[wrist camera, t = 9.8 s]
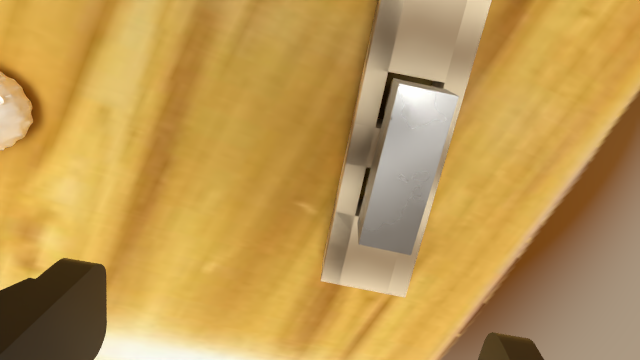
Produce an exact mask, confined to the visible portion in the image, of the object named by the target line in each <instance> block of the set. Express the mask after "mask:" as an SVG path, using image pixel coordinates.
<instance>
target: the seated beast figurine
mask: <svg viewBox="0 0 640 360" xmlns="http://www.w3.org/2000/svg"><path fill="white" fill-rule="evenodd" d="M31 111H32V104H31V101H30V100H29V99H28V98H27V97H26V95H25V93H24V91H23V88H22V87H21V86H20V85H19V84H18V83H17V82H16V81H15V80H14V79H12V78H9V77H7V76H5V75H4V74H3V73H2V72H0V150H4V149H5V148H7V147H12V146H13V145H14V144H15V143H16V141H17V140H20V139H22V138H23V137H25V135H26V133H27V131H28V128H29V127H30V125H31V124H32V123H33V118H32V115H31Z"/></svg>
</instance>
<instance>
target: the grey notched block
mask: <svg viewBox="0 0 640 360" xmlns="http://www.w3.org/2000/svg"><path fill="white" fill-rule="evenodd" d="M458 98H459V96H457V95H456V94H454V93H452V92H450V91H448V90H447V89H443V88H438V87H433V86H429V85H424V84H419V83H414V82H410V81H405V80H400V79H395V78H393V80H391V84H390V88H389V92H388V96H387V100H386V104H385V108H384V110H385V114H384V118H383V122H382V126H381V130H380V134H379V138H378V142H377V146H376V150H375V154H374V158H373V162H372V166H371V168H370V169H369V173H368V177H367V181H366V185H365V189H364V192H365V194H364V198H363V202H362V206H361V210H360V214H359V218H358V222H357V224H358V244H359V245H364V246H369V247H373V248H378V249H383V250H388V251H393V252H397V253H402V254H407V255H411V254H412V250H413V247H414V244H415V240H416V237H417V234H418V230H419V227H420V224H421V220H422V217H423V214H424V210H425V207H426V204H427V201H428V197H429V194H430V191H431V187H432V184H433V181H434V177H435V174H436V171H437V167H438V164H439V161H440V157H441V154H442V151H443V147H444V144H445V141H446V137H447V134H448V131H449V128H450V124H451V121H452V118H453V114H454V111H455V108H456V104H457V101H458Z"/></svg>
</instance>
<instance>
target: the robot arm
mask: <svg viewBox="0 0 640 360" xmlns="http://www.w3.org/2000/svg"><path fill="white" fill-rule="evenodd" d="M106 325H107V318H106V270H105V267H104V266H103V265H102V264H97V263H91V262H85V261H79V260H73V259H68V258H63V259H60V260H59V261H57V262H56V263H55V264H54V265H52V266H51V267H50V268H49V269H47V270H46V271H45V272H44V273H42V274H41V275H40V276H39V277H38V278H36V279H33V278H28V279H26V280H23V281H21V282H19V283H16V284H14V285H12V286H10V287H7V288H5V289H3V290H0V360H94V359H95V357H96V356H97V354H98V352H99V350H100V348H101V346H102V343H103V341H104V337H105V333H106ZM478 360H544V359H543V357H542V356H541V354H540V352H539V351H538V349H537V347H536V346H535V344H534V343H533V341H532V340H530V339H528V338H522V337H516V336H510V335H504V334H498V333H493V332H492V333H490V334H488V336H487V337H486V339H485V341H484V344H483V347H482V350H481V353H480V356H479V358H478Z"/></svg>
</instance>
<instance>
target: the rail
mask: <svg viewBox="0 0 640 360" xmlns="http://www.w3.org/2000/svg"><path fill="white" fill-rule="evenodd" d="M491 1H492V0H378V2H377V6H376V11H375V16H374V21H373V25H372V30H371V35H370V39H369V44H368V49H367V54H366V58H365V63H364V68H363V72H362V77H361V82H360V87H359V91H358V96H357V101H356V105H355V110H354V115H353V119H352V124H351V129H350V134H349V138H348V143H347V148H346V152H345V157H344V162H343V167H342V171H341V176H340V181H339V185H338V190H337V195H336V200H335V204H334V209H333V214H332V218H331V223H330V228H329V233H328V237H327V242H326V247H325V251H324V256H323V265H322V274H321V281H323V282H329V283H334V284H339V285H344V286H349V287H354V288H359V289H364V290H369V291H375V292H380V293H385V294H390V295H395V296H400V297H406V293H407V290H408V286H409V283H410V279H411V276H412V272H413V269H414V266H415V262H416V259H417V255H418V252H419V248H420V245H421V242H422V238H423V235H424V231H425V228H426V224H427V221H428V217H429V214H430V211H431V207H432V204H433V200H434V197H435V193H436V190H437V187H438V183H439V180H440V176H441V173H442V169H443V166H444V162H445V159H446V156H447V152H448V149H449V145H450V142H451V138H452V135H453V132H454V128H455V125H456V121H457V118H458V114H459V111H460V107H461V104H462V101H463V97H464V94H465V90H466V87H467V83H468V80H469V77H470V73H471V70H472V66H473V63H474V59H475V56H476V52H477V49H478V46H479V42H480V39H481V35H482V32H483V28H484V25H485V22H486V18H487V15H488V11H489V8H490V4H491ZM388 72H392V73H397V74H402V75H408V76H413V77H418V78H423V79H428V80H433V82H432V85H431V86H433V87H438V88H443V89H447V90H448V91H450V92H452V93H454V94H456V95H457V96H459V98H458V101H457V104H456V108H455V111H454V114H453V118H452V121H451V124H450V128H449V131H448V134H447V137H446V141H445V144H444V147H443V151H442V154H441V157H440V161H439V164H438V167H437V171H436V174H435V177H434V181H433V184H432V187H431V191H430V194H429V197H428V201H427V204H426V207H425V210H424V214H423V217H422V220H421V224H420V227H419V230H418V234H417V237H416V240H415V244H414V247H413V250H412V254H411V255H407V254H402V253H397V252H393V251H388V250H383V249H378V248H373V247H369V246H364V245H359V244H358V224H357V222H358V218H359V214H360V210H361V206H362V202H363V199H361V198H359V196H360V192H361V187H362V183H363V179H364V174H365V170H366V167H367V168H371V166H372V162H373V158H374V154H375V150H376V146H377V142H378V138H379V134H380V130H381V126H382V122H383V119H378V114H379V109H380V105H381V101H382V96H383V92H384V88H385V83H386V79H387V75H388Z"/></svg>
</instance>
